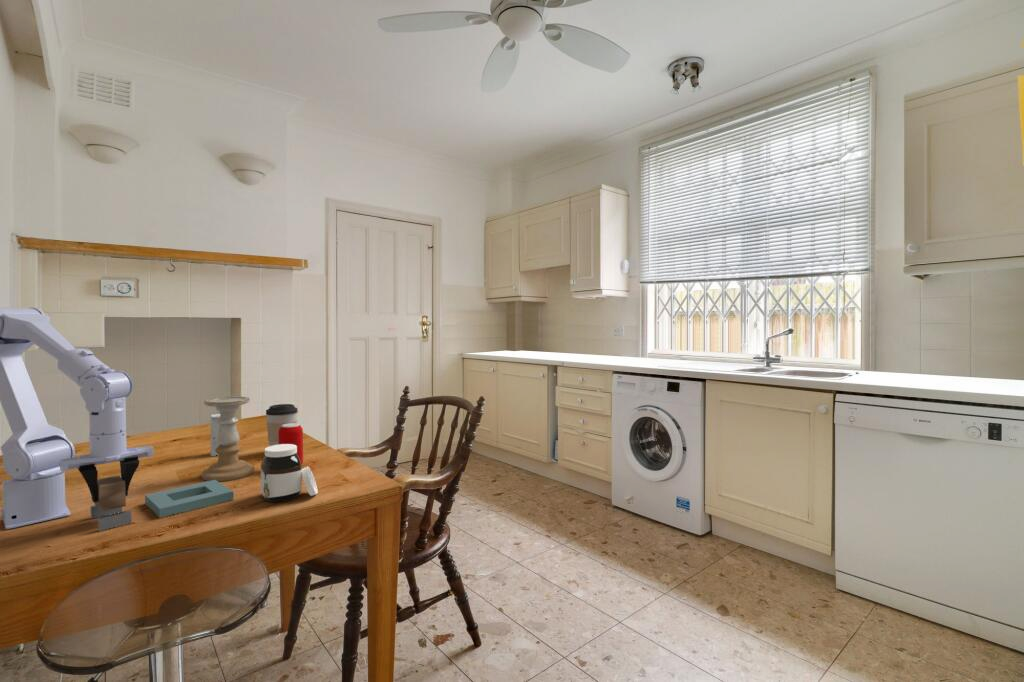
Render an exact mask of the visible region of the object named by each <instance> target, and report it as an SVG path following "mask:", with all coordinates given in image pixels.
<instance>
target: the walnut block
mask: <svg viewBox="0 0 1024 682" xmlns="http://www.w3.org/2000/svg"><path fill="white" fill-rule="evenodd" d="M97 489H98V502H94V505H96V507H97V508H98V509H99V511H100V512H102V511H106V510H111V509H115V508H120V507H122V508H124V507H126V506H127V505H126V504H127V503H126V502H127V500H126V498H127V497H126V494H125V481H124V480H123V479H122V478H121V475H112V476H109V477H103V478H97Z"/></svg>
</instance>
